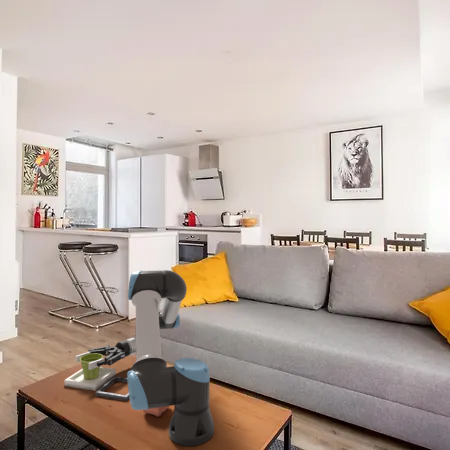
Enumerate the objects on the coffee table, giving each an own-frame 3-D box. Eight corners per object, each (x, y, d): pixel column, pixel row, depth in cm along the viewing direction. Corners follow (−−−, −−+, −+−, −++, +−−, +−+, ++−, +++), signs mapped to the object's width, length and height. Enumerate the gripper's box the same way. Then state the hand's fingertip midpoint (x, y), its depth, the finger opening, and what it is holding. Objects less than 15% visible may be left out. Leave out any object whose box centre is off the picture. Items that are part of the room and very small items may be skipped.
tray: (95, 390, 136) (95, 384, 136) (64, 385, 140) (64, 379, 140) (115, 374, 150) (115, 369, 150) (87, 370, 154) (87, 365, 154)
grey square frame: (126, 400, 128) (126, 397, 128) (95, 395, 132) (95, 392, 132) (143, 383, 142) (143, 380, 142) (115, 379, 145) (115, 376, 145)
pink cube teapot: (148, 401, 128) (149, 380, 128) (175, 409, 123) (175, 387, 123) (136, 412, 121) (136, 390, 121) (163, 420, 116) (163, 397, 116)
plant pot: (94, 383, 140) (94, 362, 140) (74, 380, 142) (75, 360, 142) (106, 373, 149) (106, 354, 149) (88, 371, 151) (88, 352, 151)
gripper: (140, 362, 152) (96, 379, 134) (113, 349, 166) (69, 363, 149) (141, 346, 152) (96, 361, 134) (113, 334, 166) (69, 347, 149)
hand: (82, 362), depth 142 cm, fingers open, 10 cm apart
